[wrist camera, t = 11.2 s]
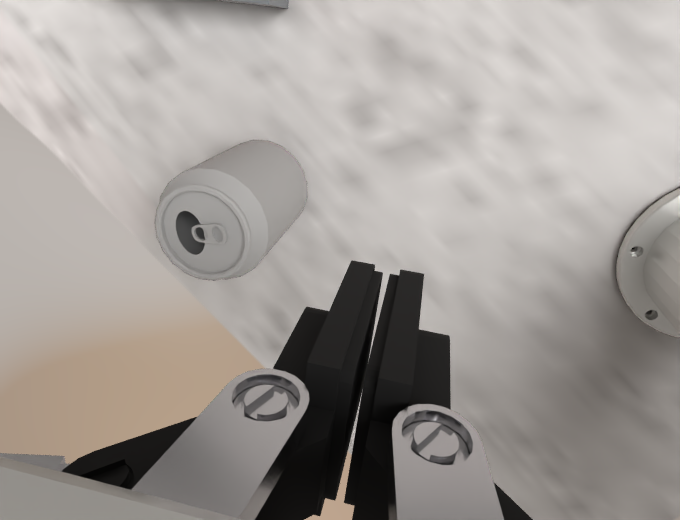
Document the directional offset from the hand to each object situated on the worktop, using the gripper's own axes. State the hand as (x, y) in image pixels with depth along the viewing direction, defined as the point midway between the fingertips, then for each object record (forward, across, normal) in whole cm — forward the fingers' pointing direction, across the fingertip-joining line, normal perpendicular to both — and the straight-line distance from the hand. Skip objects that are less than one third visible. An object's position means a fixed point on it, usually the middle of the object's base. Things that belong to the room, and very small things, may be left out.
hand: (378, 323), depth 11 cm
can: (+27, +12, +6) cm, 30 cm away
